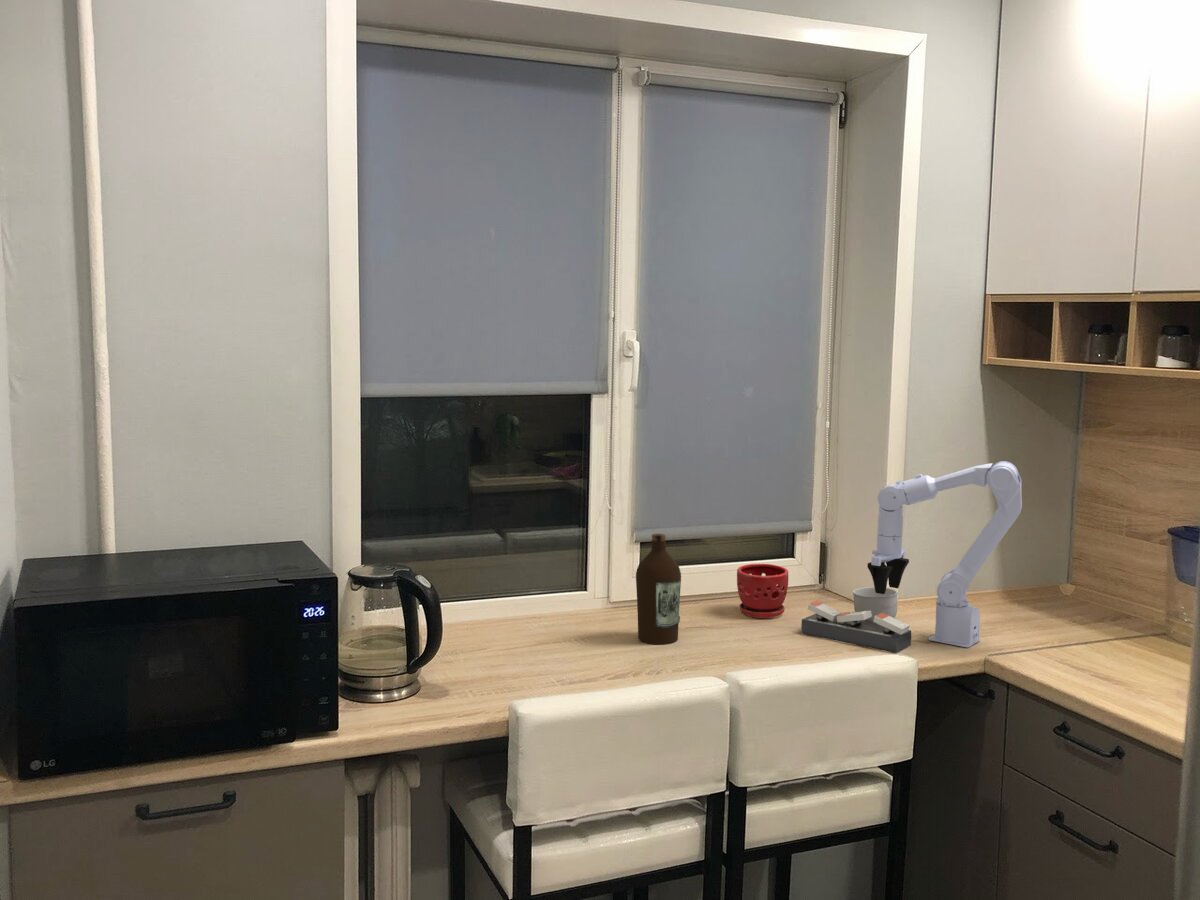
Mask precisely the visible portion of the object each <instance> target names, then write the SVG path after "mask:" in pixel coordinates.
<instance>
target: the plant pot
mask: <svg viewBox="0 0 1200 900" xmlns="http://www.w3.org/2000/svg"><path fill="white" fill-rule="evenodd" d="M763 574H765V575H763ZM736 586H737V594H738V598H739V599H740V601H741V603H740V604H739V610H740V612H741V613H742V614H743V615H745V616H748V617H751V618H756V619H772V618H773V619H774V618H776V617H779V616H781V615H782V614H783V613H784V612H785V606H784V605H783V604H784V602H785V599H786V597H787V593H788V589H789V570H788V569H787V568H786V567H783V566H780V565H776V564H769V563H751V564H744V565H741V566H739V567H738V568H737V569H736Z"/></svg>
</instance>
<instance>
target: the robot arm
mask: <svg viewBox="0 0 1200 900" xmlns="http://www.w3.org/2000/svg"><path fill="white" fill-rule="evenodd" d="M966 485H967V486H968V485H976V486H979V487H981V488H985V487H986V485H988V487H989V488H990V490H991V492H992V493H993V494H994V497H995V500H996V501H995V502H996V504H997V509H996V510H995V512H994V513H993V515H991V517H990V519H988V522H987V523H986V524H985V525H984V527H983V528H982V530H981V531H980V532H979V534H978V535H977V537H976V538H975V539H974V541H973V542H972V544H971V545H970V546H969V548H968V549H967V550H966V552H965V554H964V555H963V556H962V558H960V560H959V562H957V564H956V565H955V566H954V568H953V569H952V570H950V571H948V572H946V573H945V574H944V575H943V576H942V577H941V579H940V582H939V583H938V585H937V587H936V595H937V598H936V600H935V601H936V602H935V626H934V627H935V628H934V630H935V631H934V634H933V635H932V636H930V637H928V638H927V639H928V640H929V641H932V642H937V643H942V644H948V645H952V646H956V647H957V646H958V647H963V648H970V647H971V646H973V645H975V644H976V643H978V642H980V641H981V638H980V627H981V626H980V625H981V613H980V612H981V611H980V609H979V607H976V606H972V605H970V603H969V602H970V601H969V600H968V598H967V596H966V594H967V592H968V590H969V586H970V584H971V583H972V581H973V580H974V578H975V576H976V574H977V573H978V572H979V571H980V569H981V568H982V567H983V565H984V564H985V562H986V561H987V559H989V557H990V555H991V554H992V553H993V551H994V550H995V549H996V548H997V546H998V545H999V544H1000V542H1001V540H1002V539H1003V538H1004V536H1005V535H1006V533H1008V531H1009V530H1010V528H1011V527H1012V525H1013V524H1014V523H1015V521H1016V520H1017V519H1018V517H1019V516H1020V514H1021V512H1022V510H1023V509H1022V508H1023V497H1022V478H1021V476H1020V473H1019V471H1018V468H1017V466H1015V465H1014V464H1013V463H1012V462H1009V461H1006V460H1005V461H1003V460H1002V461H998V462H996V463H994V464H993V462H992V463H985V464H979V465H975V466H971V467H968V468H965V469H961V470H959V471H956V472H955V471H954V472H952V473H948V474H946V475H942V476H939V477H936V478H935V477H932V476H930V475H928V474H925V475H923V474H922V473H919V474H916V475H915V478H911V479H907V480H904V481H903V480H902V481H901V480H900V479H899V480H896V482H895V484H894V483H890V484H887V485H886V486H884V487H883V488H882V489H880V490H879V492H878V495H877V502H878V505H879V507H878V515H877V536H876V549H874V550H872V551H871V554H873V556H871V562H867V569H868V570H869V572H870V573H869V574H870V575H871V577H872V581H873V587H875V592H876V593H879V594H885V592H886V588H891V589H899V587H900V585H901V581H902V578H903V574H904V573H905V572H904V571H905V570H906V568H907V566H908V564H910V559H909V558H906V548H902V547H903V526H904V525H903V524H904V516H903V515H904V514H903V512H904V511H903V509H904V508H903V507H904V506H910V505H914V504H918V503H922V502H925V501H929V500H933V499H935V498H936V497H937V494H938V492H943V491H946V490H950V489H955V488H959V487H964V486H966ZM903 505H904V506H903ZM887 586H889V587H887Z"/></svg>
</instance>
